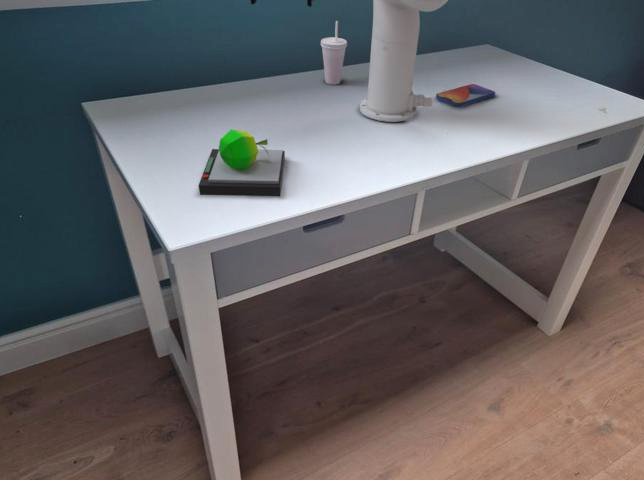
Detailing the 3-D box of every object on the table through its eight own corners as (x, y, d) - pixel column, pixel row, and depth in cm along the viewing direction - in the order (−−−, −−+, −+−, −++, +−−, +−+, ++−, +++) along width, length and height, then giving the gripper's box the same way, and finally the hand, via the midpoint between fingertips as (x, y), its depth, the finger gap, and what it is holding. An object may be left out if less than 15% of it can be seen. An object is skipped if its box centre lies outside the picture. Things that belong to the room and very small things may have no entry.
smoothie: (342, 87, 122) (345, 25, 113) (317, 84, 123) (317, 23, 114) (347, 79, 127) (350, 19, 118) (323, 76, 128) (324, 16, 119)
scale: (284, 159, 92) (284, 147, 90) (280, 196, 82) (279, 183, 80) (213, 158, 91) (211, 145, 89) (199, 194, 81) (197, 181, 79)
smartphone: (496, 96, 123) (497, 92, 122) (457, 108, 115) (458, 104, 114) (472, 87, 127) (473, 83, 126) (433, 98, 119) (434, 94, 118)
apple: (217, 128, 78) (266, 115, 82) (206, 142, 83) (252, 129, 88) (236, 171, 78) (283, 155, 83) (224, 182, 84) (269, 167, 88)
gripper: (216, -125, 72) (228, 6, 83) (335, -118, 73) (332, 11, 84) (223, -126, 78) (234, -3, 89) (334, -120, 79) (331, 1, 90)
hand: (281, 3), depth 86 cm, fingers open, 9 cm apart
